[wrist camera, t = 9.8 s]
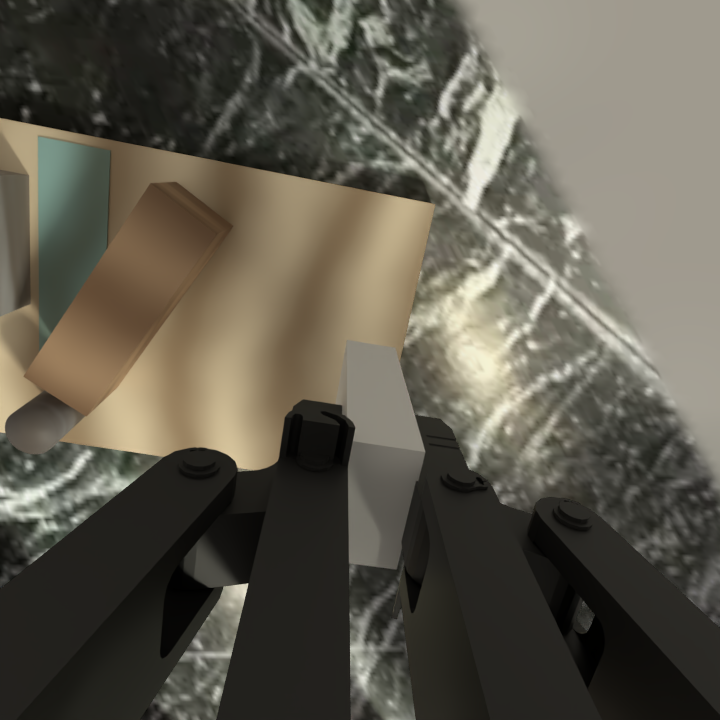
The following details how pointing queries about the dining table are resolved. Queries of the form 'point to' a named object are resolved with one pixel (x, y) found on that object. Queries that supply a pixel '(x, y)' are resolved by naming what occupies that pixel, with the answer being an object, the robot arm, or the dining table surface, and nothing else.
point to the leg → (128, 296)
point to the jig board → (197, 293)
